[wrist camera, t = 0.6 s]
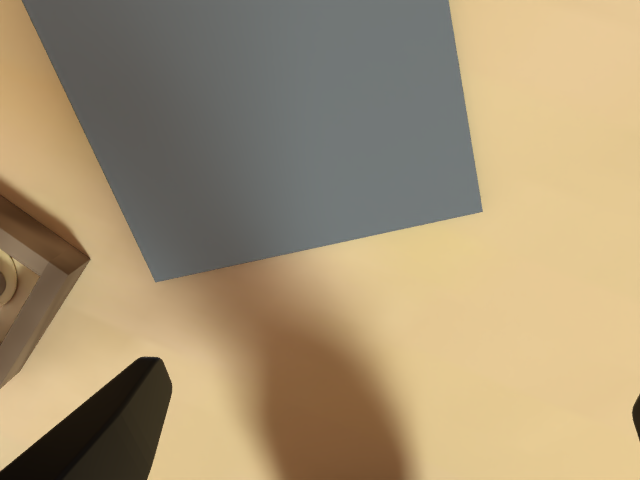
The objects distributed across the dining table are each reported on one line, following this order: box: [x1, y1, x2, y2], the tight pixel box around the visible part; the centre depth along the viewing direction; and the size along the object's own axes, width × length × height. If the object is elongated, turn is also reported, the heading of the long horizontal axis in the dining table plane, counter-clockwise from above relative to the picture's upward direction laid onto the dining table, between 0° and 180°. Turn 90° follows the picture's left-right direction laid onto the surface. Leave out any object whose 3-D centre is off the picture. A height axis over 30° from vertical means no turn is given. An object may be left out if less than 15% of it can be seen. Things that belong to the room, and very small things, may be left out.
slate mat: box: [22, 0, 483, 282], centre depth 20 cm, size 18×18×1 cm
